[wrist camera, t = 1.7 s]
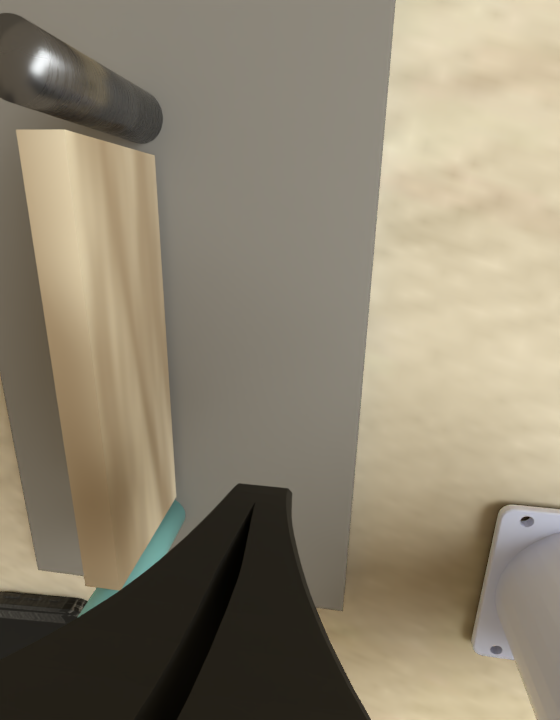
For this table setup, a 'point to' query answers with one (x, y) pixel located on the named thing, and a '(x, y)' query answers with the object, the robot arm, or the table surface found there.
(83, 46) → the gate board
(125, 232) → the gate
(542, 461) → the table surface
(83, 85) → the hinge post
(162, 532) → the latch post
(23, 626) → the phone
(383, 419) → the table surface
